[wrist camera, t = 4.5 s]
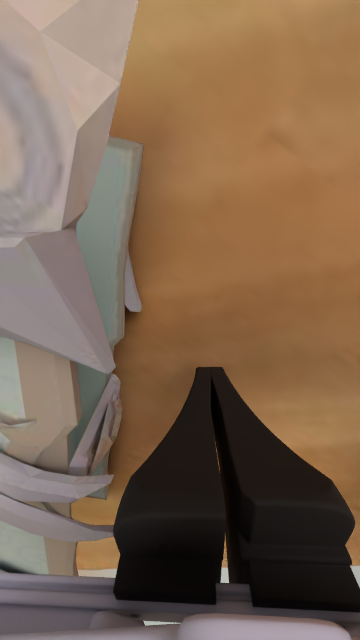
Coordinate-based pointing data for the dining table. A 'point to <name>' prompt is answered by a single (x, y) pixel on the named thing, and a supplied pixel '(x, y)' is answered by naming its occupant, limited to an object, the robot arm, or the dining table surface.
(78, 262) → the ornate book
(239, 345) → the dining table surface
